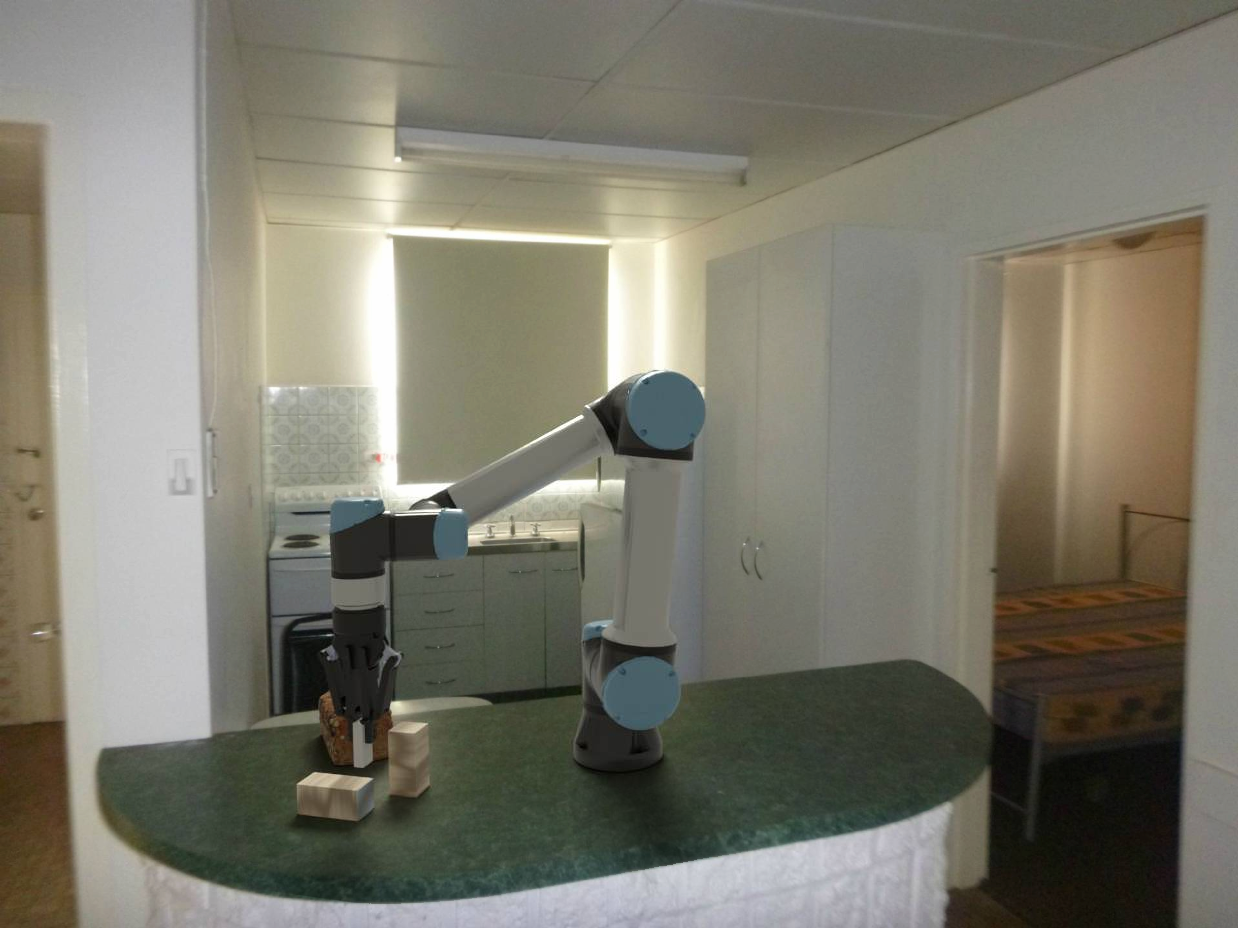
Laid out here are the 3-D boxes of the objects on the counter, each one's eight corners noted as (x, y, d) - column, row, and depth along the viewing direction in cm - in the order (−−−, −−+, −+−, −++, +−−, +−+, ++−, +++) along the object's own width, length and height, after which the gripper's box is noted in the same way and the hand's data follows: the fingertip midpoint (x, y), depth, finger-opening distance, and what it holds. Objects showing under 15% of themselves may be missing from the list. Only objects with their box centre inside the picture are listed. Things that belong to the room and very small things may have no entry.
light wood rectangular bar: (373, 778, 133) (314, 771, 136) (357, 790, 129) (296, 784, 131) (374, 807, 134) (315, 800, 136) (358, 821, 129) (297, 813, 132)
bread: (394, 759, 152) (393, 701, 152) (329, 770, 148) (327, 711, 147) (376, 725, 169) (375, 673, 169) (317, 734, 165) (315, 680, 164)
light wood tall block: (429, 785, 141) (428, 723, 141) (416, 797, 137) (414, 733, 136) (403, 782, 142) (402, 721, 142) (389, 794, 138) (387, 731, 137)
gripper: (412, 600, 132) (416, 757, 133) (333, 596, 135) (337, 750, 136) (387, 611, 124) (391, 778, 126) (304, 607, 128) (309, 769, 129)
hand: (363, 763), depth 131 cm, fingers closed
